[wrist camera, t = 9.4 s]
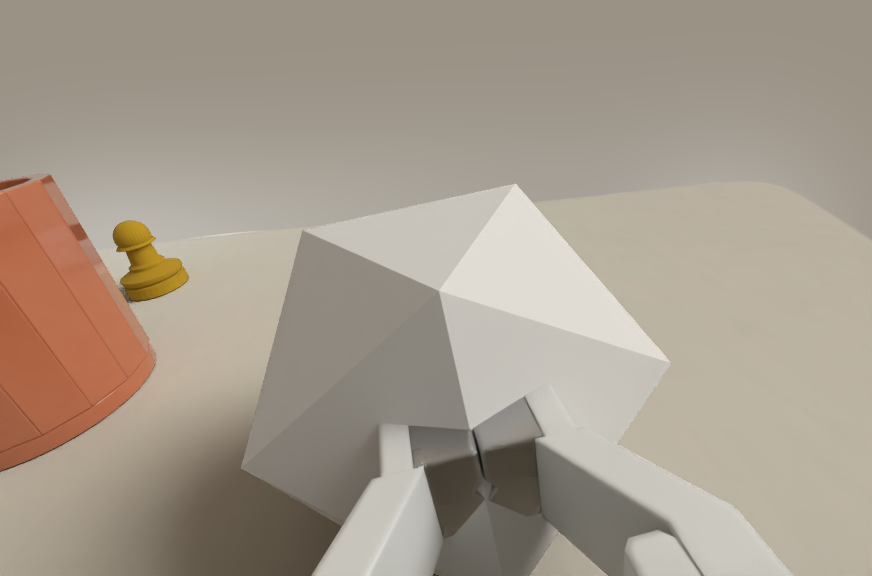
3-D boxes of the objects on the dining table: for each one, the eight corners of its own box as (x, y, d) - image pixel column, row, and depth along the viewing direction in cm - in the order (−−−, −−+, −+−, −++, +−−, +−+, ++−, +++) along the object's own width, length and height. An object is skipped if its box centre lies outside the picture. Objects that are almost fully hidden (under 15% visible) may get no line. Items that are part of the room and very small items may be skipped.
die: (569, 370, 17) (389, 183, 16) (835, 399, 8) (490, -2, 7) (426, 560, 15) (199, 356, 13) (599, 869, 6) (15, 382, 5)
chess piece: (143, 305, 29) (103, 235, 26) (120, 295, 31) (81, 231, 28) (199, 277, 31) (167, 212, 29) (173, 271, 33) (142, 209, 31)
